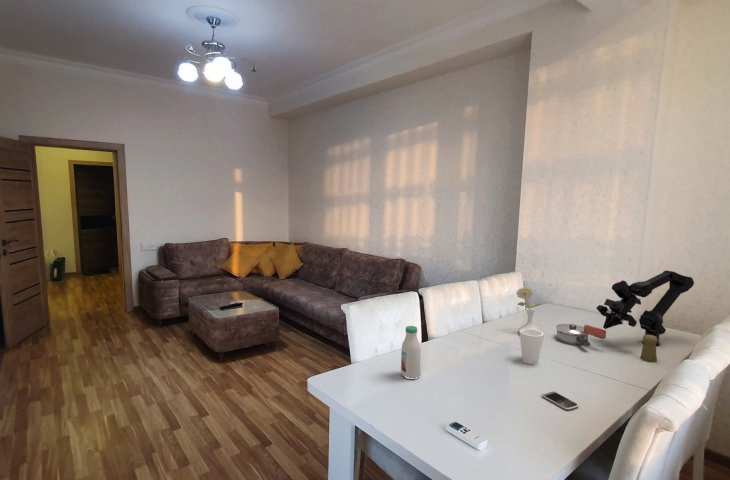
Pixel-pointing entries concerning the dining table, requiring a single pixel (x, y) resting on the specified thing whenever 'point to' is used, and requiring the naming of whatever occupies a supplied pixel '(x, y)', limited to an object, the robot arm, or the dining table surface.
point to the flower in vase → (525, 294)
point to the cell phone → (560, 401)
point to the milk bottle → (411, 354)
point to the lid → (581, 330)
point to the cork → (649, 348)
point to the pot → (573, 339)
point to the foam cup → (531, 345)
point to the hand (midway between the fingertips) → (604, 328)
